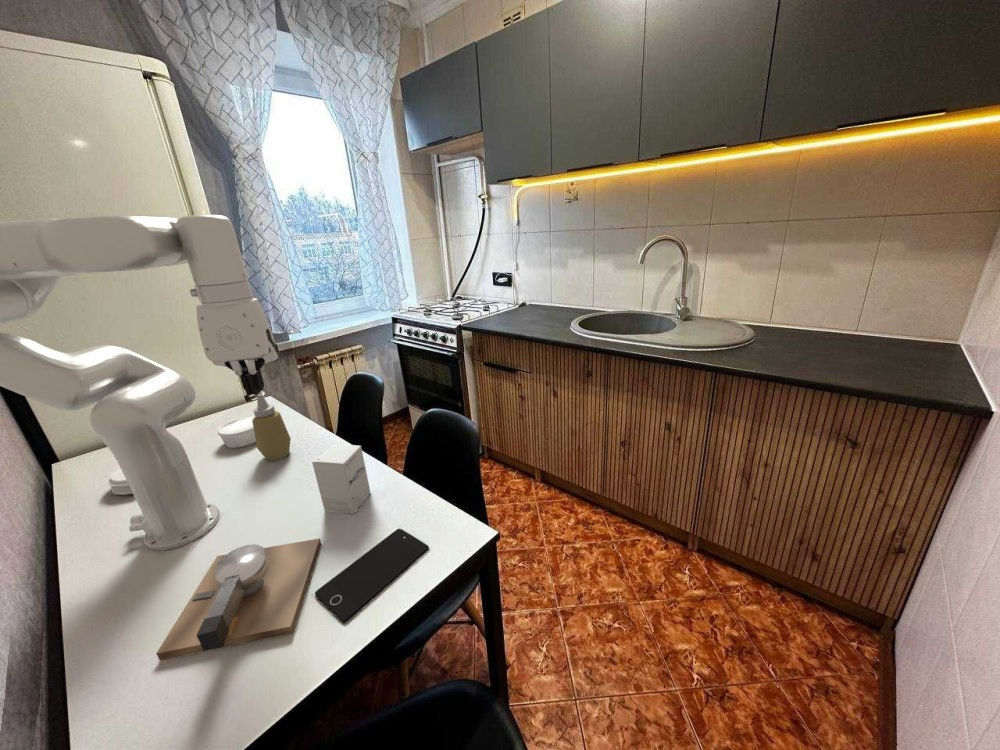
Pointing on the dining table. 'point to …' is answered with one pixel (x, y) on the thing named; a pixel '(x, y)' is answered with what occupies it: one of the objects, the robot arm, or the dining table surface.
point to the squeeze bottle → (270, 431)
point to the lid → (119, 483)
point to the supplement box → (342, 478)
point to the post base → (250, 602)
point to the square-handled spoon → (231, 591)
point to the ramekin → (238, 432)
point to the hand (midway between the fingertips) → (255, 392)
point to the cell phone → (370, 574)
